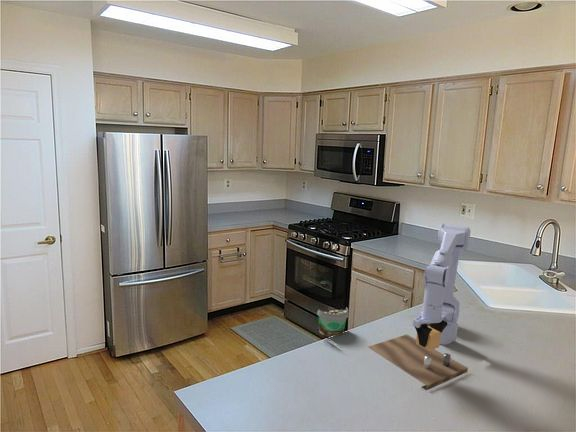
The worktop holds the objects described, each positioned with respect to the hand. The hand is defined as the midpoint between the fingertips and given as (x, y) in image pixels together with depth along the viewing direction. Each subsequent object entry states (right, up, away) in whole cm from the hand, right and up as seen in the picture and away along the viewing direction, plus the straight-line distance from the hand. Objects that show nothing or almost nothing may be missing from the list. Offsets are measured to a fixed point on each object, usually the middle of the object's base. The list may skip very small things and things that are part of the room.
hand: (428, 343), depth 123 cm
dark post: (+7, -9, +3) cm, 12 cm away
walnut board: (-2, -8, +7) cm, 11 cm away
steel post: (0, -9, +1) cm, 10 cm away
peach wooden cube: (0, -1, 0) cm, 1 cm away
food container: (-27, -5, +21) cm, 35 cm away
